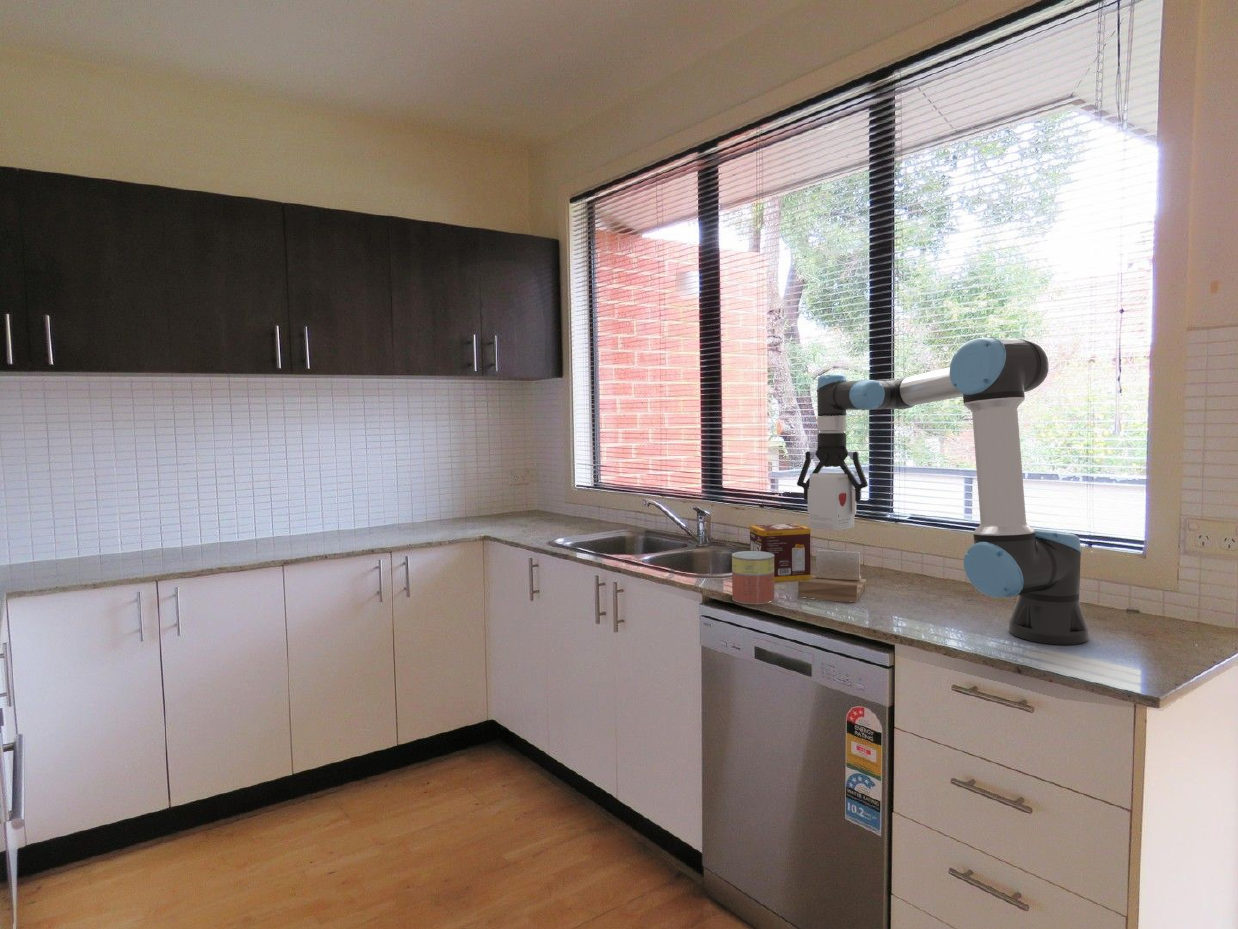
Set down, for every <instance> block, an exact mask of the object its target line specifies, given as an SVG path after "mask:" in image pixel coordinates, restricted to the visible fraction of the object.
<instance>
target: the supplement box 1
mask: <svg viewBox="0 0 1238 929" xmlns="http://www.w3.org/2000/svg"><path fill="white" fill-rule="evenodd" d="M749 551H763V552H769V553H772V554H774V555H775V556H774V583H779V582H780V583H781V582H782V581H783V582H791V581H792V582H795V581H796V582H797V581H799V580H804V581H809V580H810V579H811V577H812V576H811V574H812V573H811V567H812V566H811V559H812V558H811V528H810V527H807V526H804V525H801V524H798V523H795V522H793V523H780V524H779V523H778V524H760V525H758V524H755V525H749Z"/></svg>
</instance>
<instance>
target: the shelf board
mask: <svg viewBox="0 0 1238 929" xmlns="http://www.w3.org/2000/svg"><path fill="white" fill-rule="evenodd" d="M797 584H798V587H797V588H798V592H797V593H798V595H797V597H806V598H815V599H814V600H818V599H824V600H823V601H830V600H833V602H834V601H835V602H843V601H852V602H851V603H855V602H857V603H858V602H859V599H860V597H861V595H862V593H863V592H862V591H864V590H865V588H866V585H867V579H866V578H861V579H860V581H856V580H842V579H827V578H816V575H812V576H811V579H810V580H799V581H798V583H797ZM863 589H864V590H863ZM806 598H805V599H806Z"/></svg>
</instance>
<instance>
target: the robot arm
mask: <svg viewBox="0 0 1238 929" xmlns="http://www.w3.org/2000/svg"><path fill="white" fill-rule="evenodd" d="M1049 359H1050V358H1049V356H1048V354H1047V352H1046V350H1045V349H1044V348H1043V346H1041V345H1040V344H1038V342H1035V341H1033V340H1030V339H1025V338H1006V337H994V336H989V337H981V338H980V337H979V338H974V339H971V340H970V339H969V340H968V341H966V342H965V343H963V344H962V345H961V346H960V347H959V348H958V349H957V351H956V352H955V353H954V354H953V356H952V358H951V361H950V364H949V367H946V368H943V369H938V370H933V371H930V372H925V373H920V374H916V375H912V376H908V377H904V378H903V377H902V378H898V379H894V380H893V379H892V380H875V379H860V380H852V381H851V380H849V381H847V376H846V375H845V374H842V373H841V374H836V373H835V374H822V375H820V376H819V377H818V378H817V387H816V389H817V390H816V393H817V396H816V397H817V399H816V400H817V418H816V419H817V421H816V422H817V425H816V427H817V431H818V432H819V433H818V434H816V435H817V447H816V451H811V450H808V451H806V452H805V460H804V462H803V465H802V468H801V472H800V473H799V477H798V479H797V482H796V485H797V487H801V488H803V499H804V501H807V513H808V514H809V482H810V476H808V478H807V480H806V481H805V479H806V475H807V473H808V470H809V468H810V465H811V463H812V460H813V459H815V456H816V458H817V459H818V460H819V461H818V463H817V465H816V467H815V468H814V470H813V471H812V472H811V474H812V473H821V470H822V469H823V467H827V468H828V467H834V468H837V467H839V468H840V469H841V470H842V471H843V473H845V474H847V476H848V479H849V480H850V482H851V483H852V485H853V486H854V487H855V489H853V490H852V514H855V515H856V514H857V502H860V501H861V494H862V493H861V491H862V489H865V488H866V487H868V484H869V483H868V481H867V479H866V476H865V473H864V470H863V467H862V465H861V462H860V460H859V458H860V457H859V456H860V454H859V451H857V450H855V451H848V449H847V434H846V432H845V431H847V411H848V410H849V411H851V410H853V411H854V410H855V411H857V410H858V411H859V410H861V411H870V410H871V411H872V410H907V409H910V408H913V407H915V406H918V405H922V404H930V403H934V402H935V403H936V402H940V401H946V400H950V399H951V400H952V399H956V398H962V401H963V406H964V407H966V408H967V409H968V410H970V412H971V415H972V416H971V417H972V426H973V427H972V429H973V440H974V442H973V443H974V453H975V454H974V456H975V457H974V458H975V466H976V467H975V469H976V470H975V471H976V482H977V493H978V495H977V496H978V505H979V506H978V507H979V522H980V524H979V525H978V526H977V527H976V528H975V530H974V531H973V532H972V533H973V545H971V546H969V547H968V549H967V551H966V552H965V553H964V557H963V569H964V572H965V573H964V574H965V575H966V577H967V579H968V582H970V584H971V585H972V586H973V587H974V588H976V591H978V592H980V593H981V594H982V595H984V596H987V597H991V598H997V599H998V598H1012V597H1016V596H1017V599H1016V602H1015V604H1014V608H1013V610H1012V613H1011V615H1010V618H1009V621H1008V632H1009V633H1010V634H1011V635H1013V636H1015V637H1017V638H1020V639H1023V640H1026V641H1029V642H1030V641H1031V642H1036V643H1040V644H1049V645H1063V646H1064V645H1080V644H1085V643H1086V642H1088V640H1089V627H1088V624H1087V622H1086V618H1085V616H1084V612H1083V610H1082V606H1081V603H1080V589H1081V588H1080V585H1081V584H1080V583H1081V558H1082V557H1081V556H1082V549H1081V539H1080V537H1079V536H1078V535H1076V534H1073V533H1069V532H1065V531H1064V532H1063V531H1057V530H1048V529H1047V530H1046V529H1041V528H1040V529H1039V528H1033V527H1031V526H1030V525H1029V524H1028V522H1027V517H1026V504H1025V490H1024V488H1025V487H1024V478H1023V477H1024V476H1023V466H1022V465H1023V464H1022V452H1021V440H1020V426H1019V413H1018V412H1019V411H1018V408H1019V406H1020V405H1021V404H1022V403H1023V402H1024V401H1025V400H1026V397H1025V396H1026V395H1025V393H1026V392H1030V391H1033V390H1034V389H1036V388H1038V387H1040V386H1041V384H1042V383H1043V382H1044V381H1045V380H1046V378H1047V376H1048V374H1049V371H1050V360H1049ZM847 457H849V459H850V460H852V462H853V465H854V468H855V471H856V474H857V476H858V479H859V481H858V480H857V478H856V476H855V477H854V475H853V474H852V473H853V472H852V471H851V470H850V468H849V467H848V465H847V463H846V462H845V460H846V458H847ZM859 482H860V483H859Z"/></svg>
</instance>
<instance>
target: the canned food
mask: <svg viewBox="0 0 1238 929" xmlns="http://www.w3.org/2000/svg"><path fill="white" fill-rule="evenodd" d="M774 556H775V555H774V554H772V553H769V552H763V551H750V550H742V551H736V552H733V553H732V554H731V573H732V574H731V577H732V578H731V582H732V584H731V586H732V587H731V588H732V589H731V590H732V591H731V594H732V597H731V600H733V602H735V603H740V604H745V605H766V604H769V603H768V602H769V601H773V600H774V598H775V582H774ZM774 601H775V600H774ZM774 601H773V602H774Z"/></svg>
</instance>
